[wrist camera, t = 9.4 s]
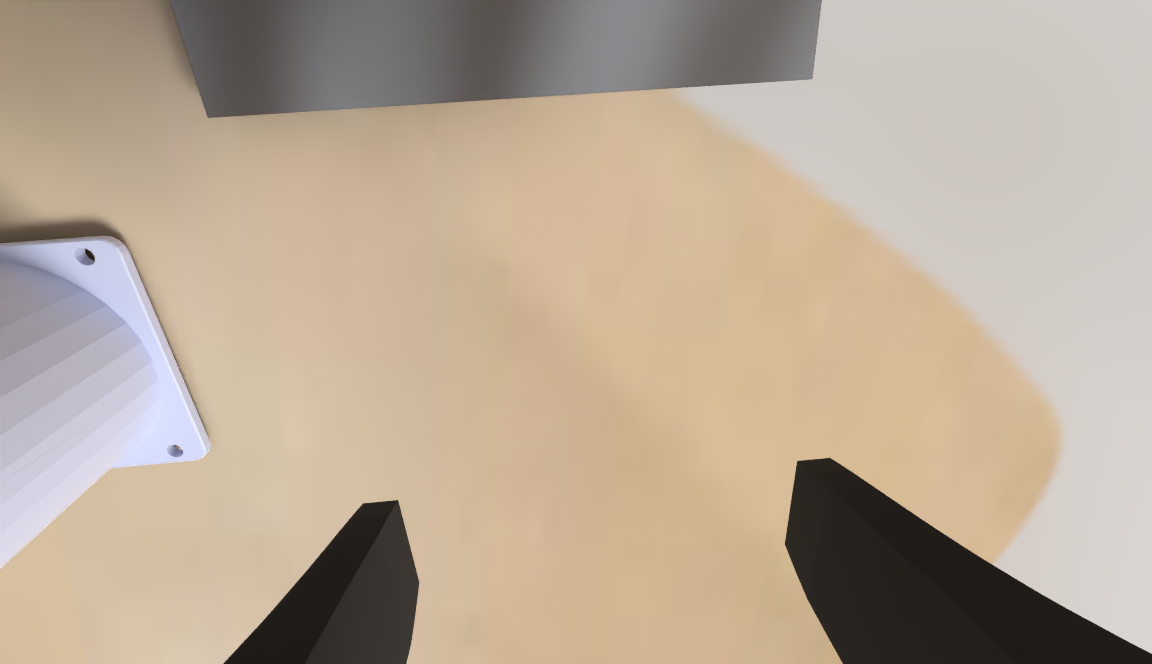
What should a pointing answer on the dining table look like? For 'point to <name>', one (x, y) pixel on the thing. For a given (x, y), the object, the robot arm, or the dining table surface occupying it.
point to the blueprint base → (481, 49)
